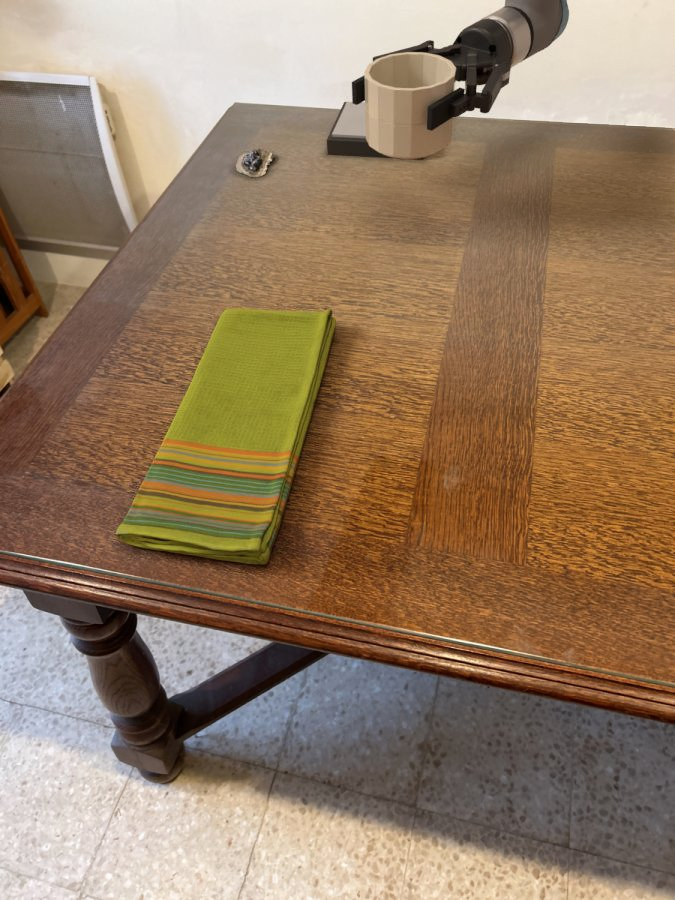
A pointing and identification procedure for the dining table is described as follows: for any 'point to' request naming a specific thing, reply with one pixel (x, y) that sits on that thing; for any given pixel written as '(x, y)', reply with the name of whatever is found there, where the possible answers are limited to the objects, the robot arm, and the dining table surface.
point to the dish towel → (234, 439)
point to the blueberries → (254, 162)
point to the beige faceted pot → (406, 103)
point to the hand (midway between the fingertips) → (390, 106)
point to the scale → (351, 133)
